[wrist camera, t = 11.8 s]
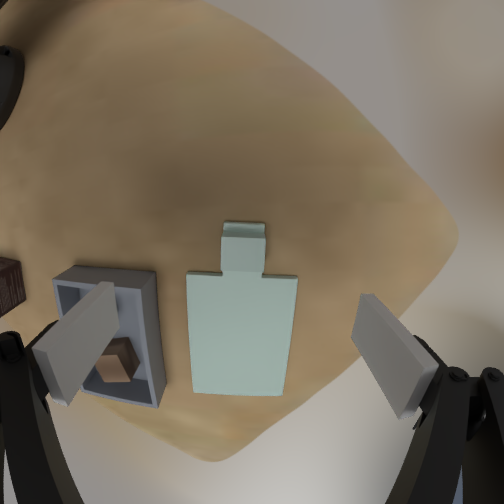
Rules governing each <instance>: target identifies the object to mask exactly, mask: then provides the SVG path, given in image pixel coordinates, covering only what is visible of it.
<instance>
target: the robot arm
mask: <svg viewBox="0 0 504 504" xmlns="http://www.w3.org/2000/svg"><path fill="white" fill-rule="evenodd" d="M7 1H8V0H0V9H1V8H2V7H3V6H4V5H5V3H6V2H7ZM23 74H24V60H23V56H22V54H21V52H20V51H19V50H17V49H15V48H13V47H10V46H6V45H3V46H0V129H1V128H2V126H3V125H4V124H5V122H6V120H7V119H8V117H9V115H10V113H11V111H12V109H13V107H14V105H15V102H16V100H17V97H18V94H19V91H20V88H21V84H22V80H23ZM119 328H120V325H119V319H118V313H117V306H116V299H115V291H114V283H113V282H104V281H101V282H100V283H99V284H98V285H96V286H95V287H94V288H93V289H92V290H91V291H90V292H89V293H88V294H87V295H85V296H84V297H83V298H82V299H81V300H80V301H79V302H78V303H77V304H76V305H75V306H74V307H72V308H71V309H70V310H69V311H68V312H67V313H66V314H65V315H64V316H63V317H62V318H61V319H60V320H56V321H54V322H53V323H51V324H49V325H48V326H47V327H46V328H44V329H43V332H42V331H41V332H40V333H39V334H38V336H36V337H35V338H34V339H33V340H32V341H31V342H30V343H29V344H28V345H27V346H26V347H25V348H24V345H23V342H22V339H21V337H20V334H19V333H18V332H15V331H7V332H4V333H1V334H0V504H4V493H3V477H4V475H3V474H4V455H5V450H6V456H7V461H8V466H9V471H10V475H11V480H12V484H13V488H14V492H15V495H16V499H17V502H18V504H84V502H83V500H82V498H81V496H80V494H79V492H78V489H77V487H76V485H75V483H74V480H73V478H72V476H71V473H70V471H69V468H68V466H67V463H66V460H65V458H64V455H63V452H62V449H61V447H60V444H59V441H58V437H57V434H56V431H55V428H54V424H53V421H52V417H51V414H50V409H49V406H48V403H47V400H46V398H45V397H46V395H47V394H48V393H50V395H51V397H52V399H53V401H54V402H56V403H58V404H62V405H65V406H67V407H68V406H69V404H70V403H71V401H72V400H73V398H74V396H75V395H76V393H77V392H78V390H79V388H80V387H81V385H82V384H83V382H84V380H85V379H86V377H87V376H88V374H89V373H90V371H91V369H92V368H93V366H94V365H95V363H96V362H97V360H98V359H99V357H100V356H101V354H102V353H103V351H104V350H105V348H106V347H107V345H108V344H109V342H110V341H111V339H112V338H113V336H114V335H115V334H116V332H117V331H118V329H119ZM351 338H352V340H353V342H354V343H355V345H356V347H357V348H358V350H359V352H360V353H361V355H362V356H363V358H364V360H365V362H366V363H367V365H368V367H369V368H370V370H371V372H372V373H373V375H374V377H375V379H376V381H377V382H378V384H379V386H380V387H381V389H382V391H383V393H384V394H385V396H386V398H387V400H388V401H389V403H390V405H391V407H392V409H393V410H394V412H395V414H396V416H397V418H398V419H403V418H407V417H411V416H413V415H414V414H415V412H416V410H417V408H418V407H419V406H420V408H421V409H422V411H423V412H422V414H421V416H420V417H419V419H418V421H417V422H416V424H415V425H414V427H413V430H414V429H415V428H416V430H415V433H414V436H413V439H412V442H411V444H410V447H409V450H408V453H407V455H406V458H405V460H404V463H403V465H402V468H401V470H400V473H399V475H398V477H397V479H396V482H395V484H394V486H393V489H392V491H391V493H390V495H389V497H388V499H387V501H386V503H385V504H452V503H453V499H454V496H455V492H456V488H457V484H458V479H459V475H460V470H461V465H462V478H463V504H504V375H503V373H502V372H500V370H498V369H496V368H492V367H487V368H485V369H484V370H483V371H482V374H481V375H480V377H469V375H468V374H467V372H466V371H464V370H463V369H461V368H458V367H447V365H446V364H445V363H444V362H443V361H442V360H441V359H440V358H439V356H438V355H437V354H436V353H435V352H434V351H433V350H432V349H431V348H430V347H429V346H428V344H427V343H426V342H425V341H424V340H423V339H420V338H419V337H417V336H416V335H412V334H411V333H410V332H409V331H408V330H407V329H406V327H405V326H404V325H403V324H402V323H401V322H400V321H399V320H398V319H397V318H396V317H395V316H394V315H393V314H392V313H391V312H390V310H389V309H388V308H387V307H386V306H385V305H384V304H383V303H382V302H381V301H380V300H379V299H378V298H377V297H376V296H375V295H374V294H361V296H360V301H359V306H358V310H357V314H356V319H355V323H354V327H353V331H352V335H351ZM485 414H486V417H485V418H484V415H485Z"/></svg>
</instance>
